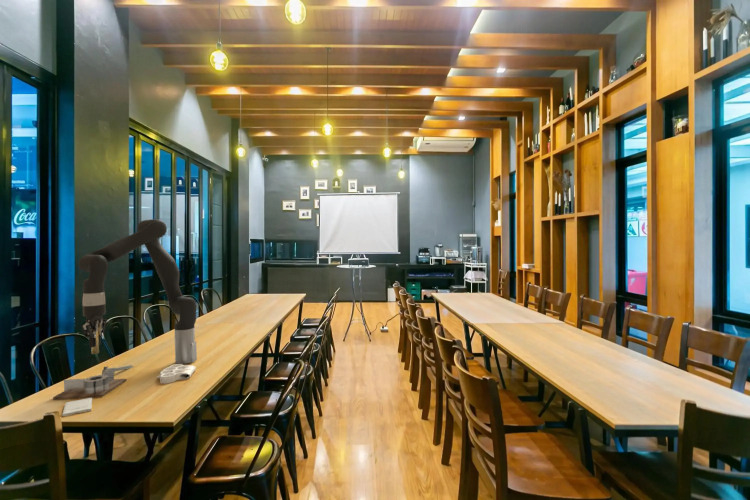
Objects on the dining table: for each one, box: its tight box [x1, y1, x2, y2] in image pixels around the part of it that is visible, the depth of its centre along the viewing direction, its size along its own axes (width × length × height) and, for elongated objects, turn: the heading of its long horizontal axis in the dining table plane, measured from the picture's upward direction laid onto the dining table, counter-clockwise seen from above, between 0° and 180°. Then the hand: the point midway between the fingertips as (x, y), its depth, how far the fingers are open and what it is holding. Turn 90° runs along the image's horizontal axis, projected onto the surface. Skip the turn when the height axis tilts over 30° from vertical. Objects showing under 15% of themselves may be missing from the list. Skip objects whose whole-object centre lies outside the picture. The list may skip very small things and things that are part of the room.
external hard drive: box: [61, 397, 93, 417], centre depth 143 cm, size 2×8×12 cm
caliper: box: [101, 364, 134, 375], centre depth 181 cm, size 20×1×6 cm, turn 179°
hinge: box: [63, 369, 115, 394], centre depth 160 cm, size 16×16×5 cm
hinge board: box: [52, 378, 127, 401], centre depth 161 cm, size 18×18×1 cm
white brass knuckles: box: [156, 363, 197, 384], centre depth 176 cm, size 3×18×15 cm
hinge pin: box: [90, 329, 100, 355], centre depth 157 cm, size 2×2×12 cm
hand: (95, 345), depth 157 cm, fingers closed on hinge pin, 2 cm apart
